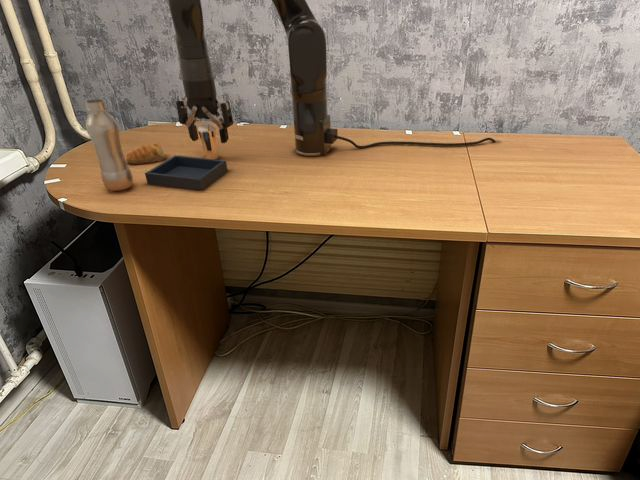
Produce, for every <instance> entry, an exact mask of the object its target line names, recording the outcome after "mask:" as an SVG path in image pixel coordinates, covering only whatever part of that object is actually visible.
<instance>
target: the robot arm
mask: <svg viewBox="0 0 640 480" xmlns="http://www.w3.org/2000/svg"><path fill="white" fill-rule="evenodd" d="M166 2H167V4H168V7H169V12H170V16H171V20H172V24H173V29H174V33H175V34H174V37H175V45H176V50H177V56H178V61H179V71H180V75H181V80H182V85H183V90H184V96H185V97H186V98H184V97H183V98H180V99H178V100H176V101H175V104H176V110H177V117H178V122H179V124H180V125H185V126H186V127H187V130H188V134H189V135H188V136H189V138H190V140H191V141H192V142H197V141H198V140H199V132H198V127H197V125H196V122H197V120H202V119H203V120H210V121H211V122H212V123H213V124H215V125H216V126H217V127H218V134H219V139H220V143H221V144H226V143H227V142H228V141H229V137H230V136H229V130H228V128H230V127H231V126H233V125H234V118H233V114H232V110H231V104H230V102H229V101H228V100H226V101H224V102H223V101H222V102H219V100H218V99H217V87H216V81H215V77H214V76H215V75H214V69H213V64H212V61H211V58H210V53H209V46H208V41H207V37H206V33H205V22H204V13H203V5H202V0H166ZM271 2H272V4H273V6H274V8H275V9H276V12H277V15H278V16H279V18H280V21H281V23H282V27H283V29H284V32H285V35H286V38H287V48H288V58H289V59H288V61H289V62H288V63H289V78H290V88H291V102H292V105H291V106H292V117H293V132H294V147H295V149H294V151H295V153H296V154H297V155H300V156H304V157H318V156H322V157H323V156H324V157H325V156H326V155H327V154H328V153H329V152H330V151H331V150H332V145H334V143H335V142H336V141H337V140H340V141H345V142H348V143H350V144H351V145H352V146H354V147H355V148H357V149H368V148H372V147H374V146H382V145H413V146H414V145H415V146H435V147H460V146H461V147H462V146H463V147H464V146H474V145H479V144H482V143H484V142H486V141H490V142H492V143H494V144H495V143H497V141H496V140H495V139H494V138H492V137H484V138H483V139H481V140H477V141H470V142H450V143H449V142H422V141H420V142H419V141H395V140H394V141H391V140H390V141H377V142H373V143H370V144H367V145H358V144H356V142H354V141H353V140H351V139H349V138H347V137H344V136H339V135H338V133H339V132H338V128H331V115H330V114H328V113H329V112H328V88H327V86H328V85H327V78H328V77H327V76H328V66H327V65H328V59H327V58H328V57H327V39H326V37H327V36H326V33H325V30H324V28H323V27H322V25H321V24H320V23H319V21H318V20H317V18H316V16H315V15H314V13H313V11H312V10H311V8H310V6H309V4H308V2H307V1H306V0H271ZM188 109H189V111H190V112H189V114H188Z"/></svg>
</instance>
